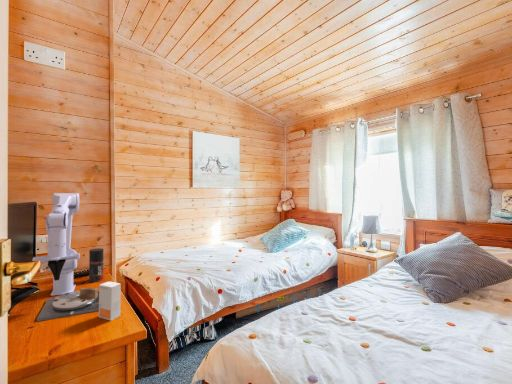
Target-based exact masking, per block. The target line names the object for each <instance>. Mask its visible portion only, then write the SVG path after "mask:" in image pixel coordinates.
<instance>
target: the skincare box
mask: <svg viewBox="0 0 512 384" xmlns="http://www.w3.org/2000/svg"><path fill="white" fill-rule="evenodd" d="M121 285H122V283H119V282H114V281H108V280H107V281H106V282H103V283H100V284H98V291H99V311H98V318H99V319H102V320H108V321H110V322H112V321H113V320H115V319H117V318H119V317H121V295H122V294H121V293H122V291H121V289H122V288H121V287H122V286H121Z"/></svg>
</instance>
